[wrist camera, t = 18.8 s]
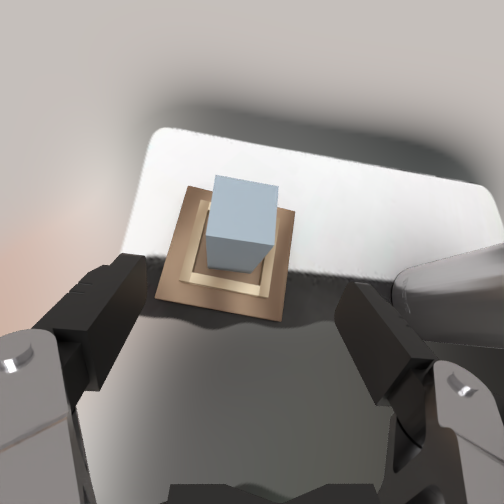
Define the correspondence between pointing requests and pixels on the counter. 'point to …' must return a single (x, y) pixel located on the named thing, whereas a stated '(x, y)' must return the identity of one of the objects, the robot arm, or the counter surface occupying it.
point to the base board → (219, 281)
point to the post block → (240, 224)
